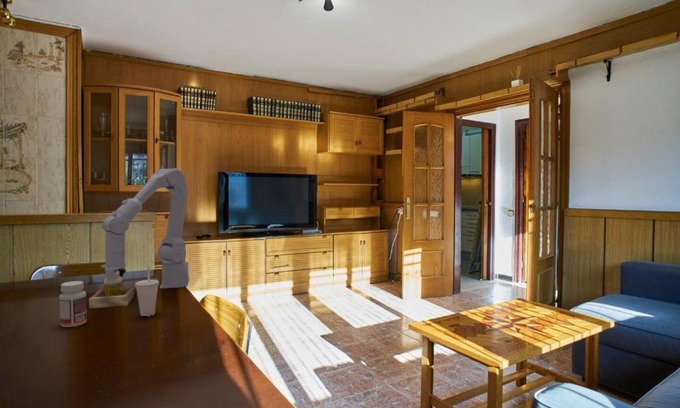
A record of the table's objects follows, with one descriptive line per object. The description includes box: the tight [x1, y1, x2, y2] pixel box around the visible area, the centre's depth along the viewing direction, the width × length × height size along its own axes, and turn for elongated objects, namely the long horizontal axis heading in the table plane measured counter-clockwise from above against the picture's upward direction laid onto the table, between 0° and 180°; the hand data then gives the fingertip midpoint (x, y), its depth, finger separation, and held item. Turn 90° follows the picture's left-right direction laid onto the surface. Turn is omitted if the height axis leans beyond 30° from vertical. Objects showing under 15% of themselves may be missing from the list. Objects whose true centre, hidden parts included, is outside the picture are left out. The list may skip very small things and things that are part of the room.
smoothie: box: [134, 266, 160, 317], centre depth 115 cm, size 6×6×14 cm
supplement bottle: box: [103, 270, 125, 297], centre depth 128 cm, size 5×5×10 cm
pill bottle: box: [58, 280, 88, 328], centre depth 107 cm, size 6×6×11 cm
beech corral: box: [88, 287, 135, 309], centre depth 127 cm, size 10×10×3 cm
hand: (115, 292), depth 132 cm, fingers closed, pressing on supplement bottle
